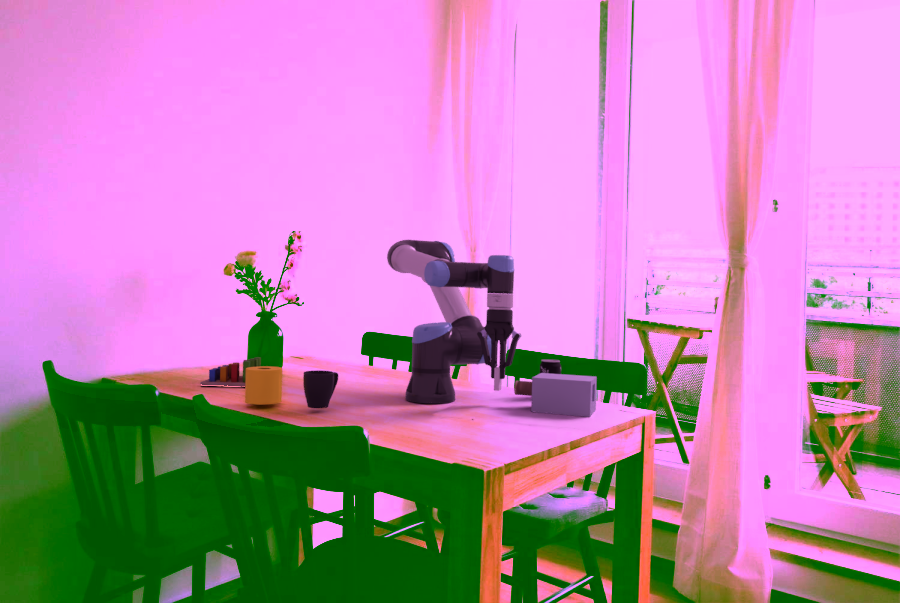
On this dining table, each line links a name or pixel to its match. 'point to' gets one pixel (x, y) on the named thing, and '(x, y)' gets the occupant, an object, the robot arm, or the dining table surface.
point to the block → (564, 394)
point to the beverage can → (550, 366)
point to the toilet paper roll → (263, 385)
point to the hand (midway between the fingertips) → (497, 389)
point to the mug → (319, 387)
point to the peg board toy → (230, 373)
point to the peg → (523, 388)
